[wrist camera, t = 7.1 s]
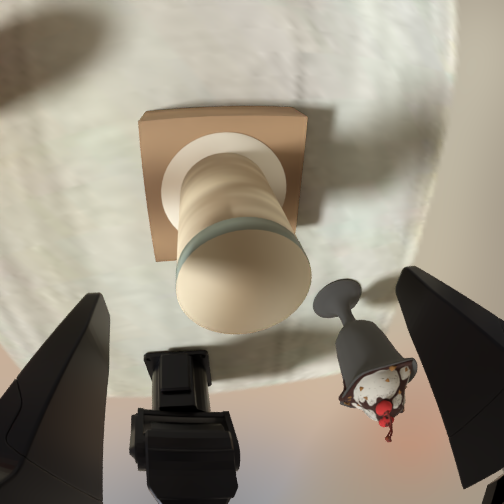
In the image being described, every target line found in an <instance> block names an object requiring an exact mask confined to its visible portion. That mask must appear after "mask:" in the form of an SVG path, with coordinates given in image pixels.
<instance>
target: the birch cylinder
mask: <svg viewBox="0 0 504 504" xmlns="http://www.w3.org/2000/svg"><path fill="white" fill-rule="evenodd" d="M311 278H312V277H311V267H310V263H309V260H308V258H307V256H306V254H305V252H304V250H303V248H302V246H301V244H300V242H299V241H298V239H297V237H296V235H295V233H294V231H293V229H292V227H291V225H290V223H289V221H288V219H287V217H286V215H285V213H284V211H283V209H282V208H281V206H280V204H279V202H278V200H277V198H276V196H275V194H274V192H273V190H272V188H271V187H270V185H269V183H268V181H267V179H266V177H265V175H264V173H263V172H262V170H261V169H260V168H259V166H258V165H257V164H256V163H254V162H253V161H252V160H250V159H249V158H247V157H245V156H242V155H239V154H235V153H217V154H213V155H210V156H207V157H205V158H203V159H201V160H200V161H198V162H197V163H196V164H195V165H193V166H192V167H191V169H190V170H189V171H188V172H187V174H186V175H185V177H184V180H183V182H182V185H181V191H180V206H179V223H178V244H177V268H176V295H177V299H178V302H179V304H180V306H181V308H182V310H183V311H184V313H185V314H186V315H187V316H188V317H189V318H190V319H191V320H192V321H193V322H195V323H196V324H198V325H199V326H201V327H203V328H206V329H208V330H211V331H214V332H218V333H224V334H247V333H253V332H257V331H261V330H264V329H267V328H270V327H272V326H274V325H276V324H278V323H280V322H282V321H283V320H285V319H286V318H288V317H289V316H290V315H291V314H293V313H294V312H295V311H296V310H297V309H298V307H299V306H300V305H301V304H302V302H303V301H304V299H305V298H306V296H307V294H308V291H309V288H310V285H311Z"/></svg>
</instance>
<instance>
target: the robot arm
mask: <svg viewBox="0 0 504 504" xmlns="http://www.w3.org/2000/svg"><path fill="white" fill-rule="evenodd" d="M396 295H397V298H398V301H399V304H400V307H401V310H402V313H403V315H404V319H405V321H406V325H407V328H408V331H409V333H410V336H411V338H412V341H413V343H414V345H415V348H416V350H417V353H418V355H419V357H420V360H421V363H422V365H423V367H424V370H425V373H426V375H427V378H428V380H429V383H430V386H431V388H432V391H433V394H434V397H435V399H436V402H437V405H438V407H439V411H440V413H441V416H442V419H443V422H444V425H445V428H446V431H447V434H448V437H449V441H450V445H451V448H452V451H453V455H454V458H455V462H456V465H457V469H458V472H459V476H460V480H461V484H462V486H463V489H466V488H468V487H470V486H472V485H474V484H476V483H477V482H479V481H481V480H483V479H485V478H486V477H488V476H490V475H492V474H494V473H496V472H497V471H499V470H501V469H502V471H503V474H502V475H501V476H499V477H498V478H497V479H495V480H494V481H493V482H491V483H490V484H488V485H487V488H486V492H485V495H484V498H483V501H482V504H504V321H503V320H502V319H500V318H498V317H497V316H495V315H494V314H492V313H491V312H489V311H488V310H486V309H484V308H483V307H481V306H480V305H478V304H477V303H475V302H474V301H472V300H470V299H469V298H467V297H466V296H464V295H463V294H461V293H459V292H458V291H456V290H454V289H453V288H451V287H450V286H448V285H446V284H445V283H443V282H441V281H439V280H438V279H436V278H435V277H433V276H431V275H430V274H428V273H426V272H425V271H423V270H421V269H419V268H418V267H416V266H409V267H405V268H404V269H403V270H402V272H401V274H400V277H399V279H398V282H397V284H396ZM109 341H110V315H109V312H108V309H107V306H106V303H105V300H104V298H103V295H102V294H101V293H99V292H98V293H88V294H86V295H85V296H84V297H83V298H82V299H81V301H80V302H79V303H78V304H77V305H76V306H75V307H74V308H73V310H72V311H71V312H70V313H69V314H68V315H67V316H66V318H65V319H64V320H63V321H62V322H61V323H60V324H59V326H58V327H57V328H56V329H55V330H54V332H53V333H52V334H51V335H50V336H49V337H48V339H47V340H46V341H45V342H44V343H43V345H42V346H41V347H40V348H39V350H38V351H37V352H36V353H35V355H34V356H33V357H32V358H31V360H30V361H29V362H28V363H27V365H26V366H25V367H24V368H23V370H22V371H21V372H20V374H19V375H18V376H17V379H15V380H14V381H13V383H12V384H11V385H10V387H9V388H8V389H7V390H6V392H5V393H4V394H3V396H2V397H1V398H0V504H103V502H102V501H103V494H102V493H103V488H102V487H103V485H102V483H103V481H102V480H103V479H102V478H103V475H102V474H103V471H102V470H103V439H104V421H105V407H106V395H107V385H108V375H109ZM144 362H145V364H146V367H147V370H148V372H149V375H150V377H151V380H152V410H147V409H143V408H138V413H136V414H135V415H132V416H131V437H130V448H129V450H130V452H129V453H130V455H131V456H132V457H133V458H134V459H135V461H136V463H138V470H139V471H146V474H147V486H148V489H149V491H150V493H151V494H152V495H153V497H154V498H155V500H156V501H157V502H158V504H228V502H229V501H230V499H231V498H233V497H234V496H235V493H236V491H237V489H238V484H237V478H236V471H238V469H239V466H240V449H239V444H238V440H237V437H236V433H235V430H234V427H233V424H232V421H231V417H230V414H229V411H223V412H210V411H211V410H210V402H209V393H208V386H211V384H212V383H211V375H210V367H209V359H208V352H207V351H205V350H199V351H186V352H170V353H150V354H145V355H144Z"/></svg>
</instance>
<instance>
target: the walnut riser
mask: <svg viewBox="0 0 504 504" xmlns="http://www.w3.org/2000/svg"><path fill="white" fill-rule="evenodd" d="M307 119H308V117H307V116H305V115H304V114H302V113H301V112H299V111H298V110H296V109H294V108H293V107H274V106H222V107H196V108H180V109H167V110H155V111H146V112H145V113H144V115H143V116H142V117H141V119H140V120H139V121H138V125H139V137H140V148H141V158H142V168H143V177H144V185H145V193H146V201H147V208H148V215H149V222H150V229H151V235H152V241H153V247H154V253H155V259H156V262H160V261H174V260H177V244H178V223H179V206H180V191H181V185H182V182H183V180H184V177H185V175H186V174H187V172H188V171H189V170H190V169H191V167H192V166H193V165H195V164H196V163H197V162H198V161H200V160H201V159H203V158H205V157H207V156H210V155H213V154H217V153H235V154H239V155H242V156H245V157H247V158H249V159H250V160H252V161H253V162H254V163H256V164H257V165H258V166H259V168H260V169H261V170H262V172H263V173H264V175H265V177H266V179H267V181H268V183H269V185H270V187H271V188H272V190H273V192H274V194H275V196H276V198H277V200H278V202H279V204H280V206H281V208H282V209H283V211H284V213H285V215H286V217H287V219H288V221H289V223H290V225H291V227H292V229H293V231H294V233H295V231H296V223H297V214H298V206H299V197H300V188H301V179H302V170H303V160H304V150H305V140H306V130H307Z"/></svg>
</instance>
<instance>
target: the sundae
mask: <svg viewBox="0 0 504 504" xmlns="http://www.w3.org/2000/svg"><path fill="white" fill-rule="evenodd" d="M360 296H361V288H360V285H359V284H358V283H357V282H355V281H353V280H348V279H346V280H338V281H335V282H333V283H330V284H328V285H327V286H326V287H324V288H323V289H322V290H321V291H320V292H319V293H318V294H317V296H316V297H315V299H314V303H313V309H314V311H315V313H316V314H317V315H319V316H320V317H324V318H333V317H339V318H340V320H341V322H342V324H343V326H344V327H343V328H342V329H341V331H340V333H339V335H338V337H337V340H336V343H335V344H336V351H337V358H338V362H339V365H340V369H341V373H342V376H343V384H344V390H343V392H342V393H341V395H340V396H339V400H340V404H341V405H344V406H347V407H350V408H358V409H360V410H363V411H364V413H365V414H366V415H367V416H368V417H369V418H371V419H373V420H375V421H379V424H380V426H382V427H388V426H389V428H390V431H389V433H388V435H387V436H386V437H385V440H386V441H387V442H391V441H392V440H391V436H392V433H393V430H392V423H393V421H394V417H395V416H396V415H398V414H399V413H403V412H404V404H405V389H406V387H407V386H406V385H407V384H408V383H409V382H410V381H411V380H412V379H413V378H414V376H415V374H416V372H417V362H416V360H415V359H414V358H403V357H402V356H401V355H400V354H399V353H398V351H396V349H395V348H394V346H393V345H392V344H391V342H390V341H389V340H388V338H387V337H386V336H385V334H384V333H383V332H382V331H381V330H380V329H379V328H378V327H377V326H376V324H374V323H373V322H371V321H366V320H355V318H354V316H353V315H352V312H351V309H352V308H354V306H355V305H356V304H357V302H358V301H359V298H360ZM390 432H391V434H390ZM389 434H390V436H389Z"/></svg>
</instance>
